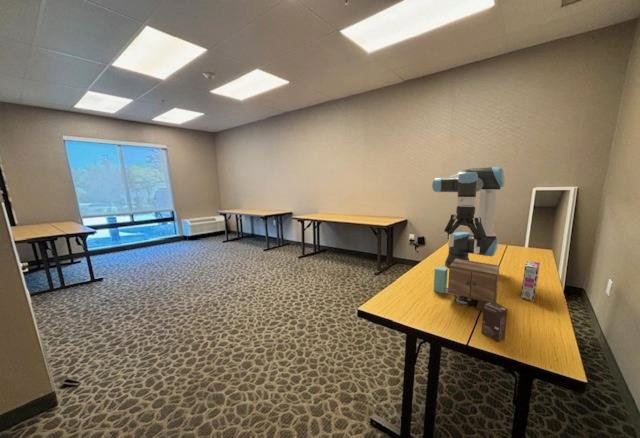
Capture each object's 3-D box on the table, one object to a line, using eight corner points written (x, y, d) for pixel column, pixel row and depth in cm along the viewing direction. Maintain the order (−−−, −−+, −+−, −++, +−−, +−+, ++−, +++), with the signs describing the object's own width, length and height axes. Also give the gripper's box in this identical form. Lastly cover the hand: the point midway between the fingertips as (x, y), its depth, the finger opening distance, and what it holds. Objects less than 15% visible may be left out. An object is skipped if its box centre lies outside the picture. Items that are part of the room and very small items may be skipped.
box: (480, 333, 91) (483, 303, 89) (488, 330, 93) (490, 301, 91) (497, 343, 86) (500, 311, 84) (505, 339, 88) (508, 308, 86)
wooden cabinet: (453, 292, 126) (455, 258, 123) (496, 302, 114) (499, 265, 112) (446, 303, 114) (448, 266, 111) (493, 316, 103) (497, 275, 100)
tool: (436, 287, 132) (437, 266, 130) (475, 296, 120) (476, 273, 118) (433, 290, 128) (434, 268, 126) (473, 300, 116) (475, 276, 115)
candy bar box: (534, 301, 114) (538, 268, 112) (520, 298, 118) (524, 265, 115) (536, 293, 122) (540, 262, 120) (523, 290, 125) (527, 260, 123)
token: (457, 299, 119) (457, 294, 118) (471, 302, 115) (471, 298, 114) (454, 303, 114) (455, 299, 114) (469, 307, 110) (469, 303, 110)
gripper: (438, 204, 124) (436, 244, 127) (487, 208, 101) (483, 257, 104) (449, 203, 127) (446, 243, 130) (499, 207, 103) (494, 255, 106)
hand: (462, 249), depth 117 cm, fingers open, 13 cm apart
